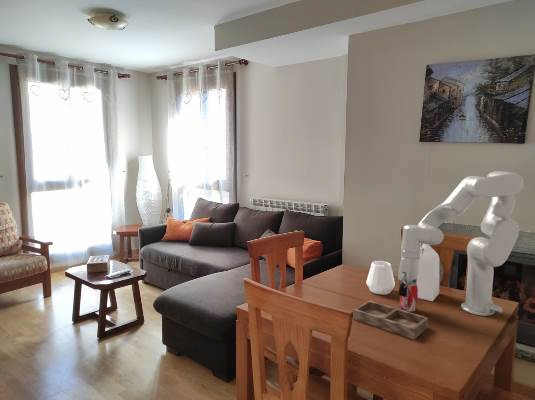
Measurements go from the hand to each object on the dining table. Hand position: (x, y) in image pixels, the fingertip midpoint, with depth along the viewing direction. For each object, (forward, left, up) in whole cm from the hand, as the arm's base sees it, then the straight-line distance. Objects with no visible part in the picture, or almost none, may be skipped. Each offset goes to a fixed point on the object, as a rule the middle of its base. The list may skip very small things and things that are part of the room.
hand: (407, 293), depth 163 cm
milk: (+1, -22, -8) cm, 24 cm away
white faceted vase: (+18, -12, -8) cm, 24 cm away
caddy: (-1, +17, -7) cm, 19 cm away
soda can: (-1, 0, -8) cm, 8 cm away
